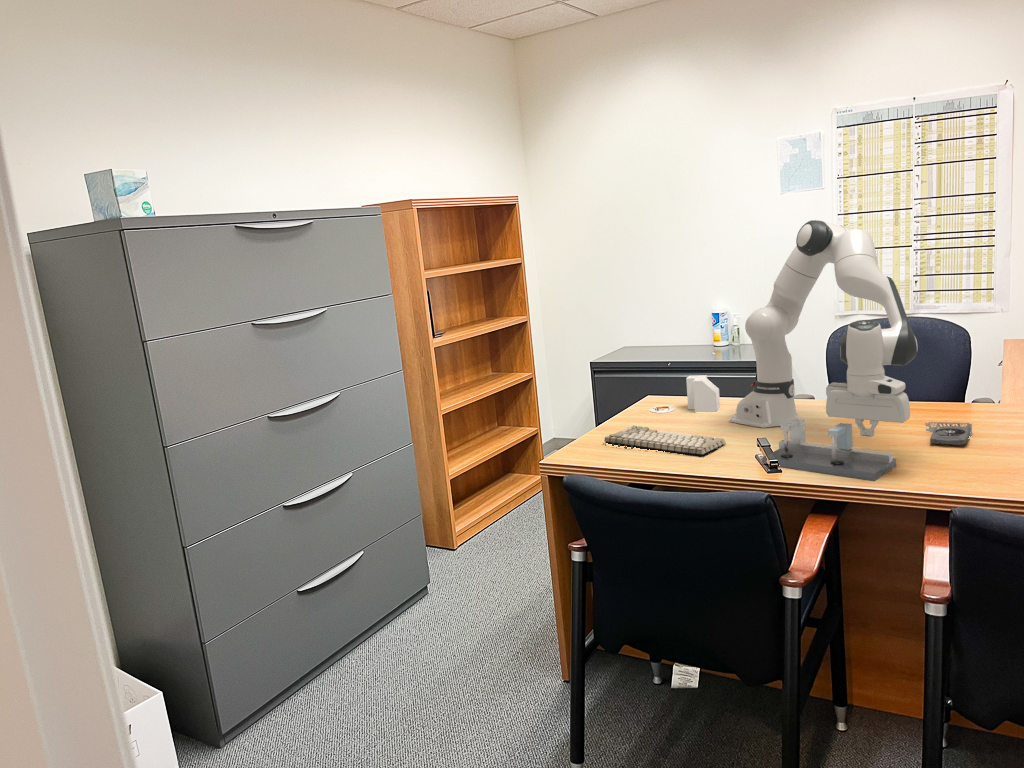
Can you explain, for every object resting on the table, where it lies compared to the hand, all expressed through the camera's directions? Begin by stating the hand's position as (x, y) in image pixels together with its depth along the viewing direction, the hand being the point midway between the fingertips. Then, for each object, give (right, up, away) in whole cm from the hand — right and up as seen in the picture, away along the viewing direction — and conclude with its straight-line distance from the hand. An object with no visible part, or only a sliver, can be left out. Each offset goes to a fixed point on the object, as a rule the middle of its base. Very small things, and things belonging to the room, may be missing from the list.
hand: (867, 435), depth 195 cm
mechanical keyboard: (-44, -6, +43) cm, 62 cm away
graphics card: (+31, -3, +18) cm, 36 cm away
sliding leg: (-5, -5, +4) cm, 9 cm away
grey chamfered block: (-21, +4, +83) cm, 86 cm away
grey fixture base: (-8, -8, +6) cm, 13 cm away
